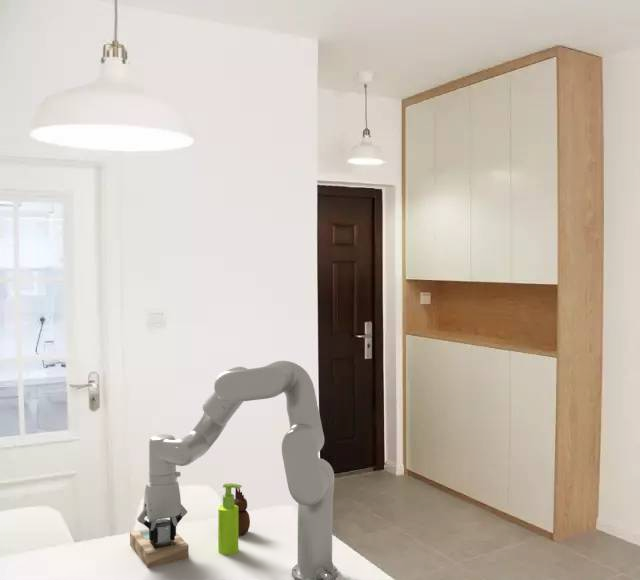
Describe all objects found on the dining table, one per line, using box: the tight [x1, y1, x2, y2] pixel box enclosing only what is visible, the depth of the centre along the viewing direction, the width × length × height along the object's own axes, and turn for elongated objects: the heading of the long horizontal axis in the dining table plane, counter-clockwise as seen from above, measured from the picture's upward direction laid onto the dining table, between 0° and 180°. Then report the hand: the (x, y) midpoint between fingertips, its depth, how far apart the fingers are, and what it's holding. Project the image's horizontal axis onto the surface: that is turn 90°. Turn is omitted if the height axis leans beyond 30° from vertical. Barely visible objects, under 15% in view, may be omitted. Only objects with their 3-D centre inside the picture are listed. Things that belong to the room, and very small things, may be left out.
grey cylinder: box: [154, 518, 171, 549], centre depth 200 cm, size 5×5×10 cm
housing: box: [129, 528, 189, 568], centre depth 204 cm, size 18×12×4 cm, turn 30°
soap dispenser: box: [217, 483, 243, 556], centre depth 204 cm, size 6×7×20 cm
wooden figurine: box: [234, 488, 251, 537], centre depth 218 cm, size 7×6×15 cm
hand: (162, 540), depth 200 cm, fingers closed on grey cylinder, 4 cm apart
